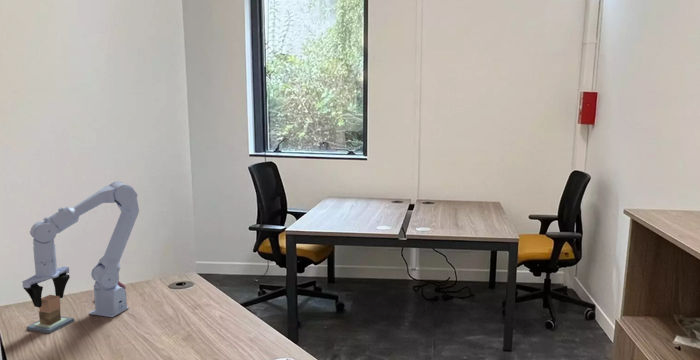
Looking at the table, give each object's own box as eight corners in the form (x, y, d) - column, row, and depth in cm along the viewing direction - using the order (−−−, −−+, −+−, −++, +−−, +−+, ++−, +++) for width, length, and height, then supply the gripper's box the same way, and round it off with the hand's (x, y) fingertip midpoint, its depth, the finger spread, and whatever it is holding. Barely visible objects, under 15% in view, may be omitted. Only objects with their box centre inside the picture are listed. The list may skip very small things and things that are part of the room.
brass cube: (60, 319, 154) (59, 308, 153) (50, 325, 150) (49, 313, 149) (50, 318, 155) (49, 306, 154) (39, 323, 151) (38, 311, 150)
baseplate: (74, 321, 156) (73, 317, 155) (50, 333, 147) (49, 329, 147) (51, 317, 158) (51, 314, 158) (26, 329, 149) (26, 325, 149)
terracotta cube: (60, 308, 153) (59, 296, 152) (49, 313, 149) (48, 300, 149) (50, 306, 154) (49, 294, 154) (39, 311, 150) (38, 299, 150)
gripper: (33, 268, 141) (37, 312, 143) (75, 254, 155) (78, 295, 157) (15, 266, 143) (19, 309, 145) (58, 252, 157) (61, 292, 159)
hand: (49, 301), depth 151 cm, fingers open, 7 cm apart
